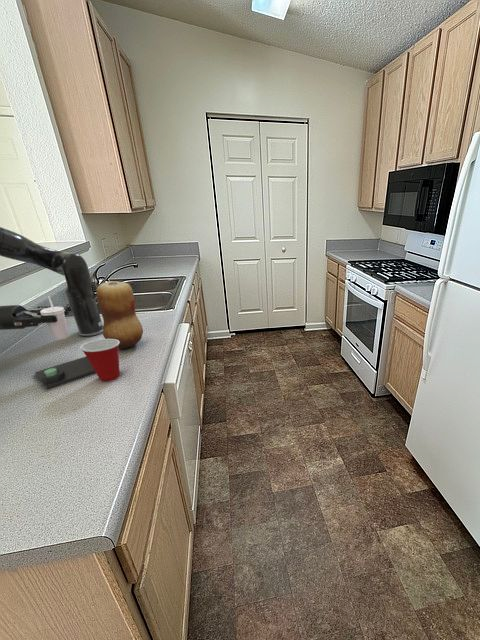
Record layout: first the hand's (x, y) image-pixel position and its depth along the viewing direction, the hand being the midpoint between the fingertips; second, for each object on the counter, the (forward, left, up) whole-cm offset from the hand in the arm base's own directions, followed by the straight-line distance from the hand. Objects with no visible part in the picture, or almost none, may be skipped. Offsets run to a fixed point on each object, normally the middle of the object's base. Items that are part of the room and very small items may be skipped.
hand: (61, 314), depth 107 cm
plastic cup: (+16, +4, -19) cm, 25 cm away
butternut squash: (-4, +18, -19) cm, 26 cm away
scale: (+3, -4, -19) cm, 19 cm away
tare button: (+6, -9, -16) cm, 19 cm away
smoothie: (-2, -2, -8) cm, 8 cm away
